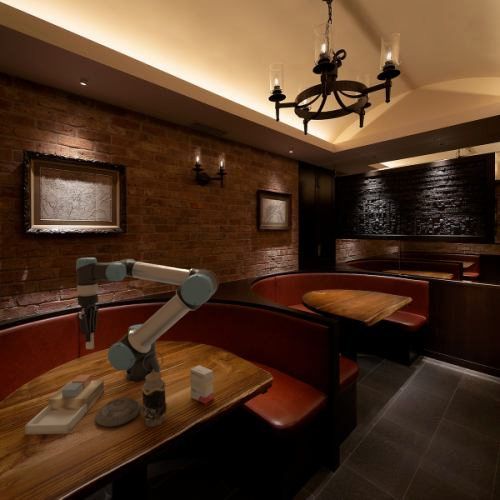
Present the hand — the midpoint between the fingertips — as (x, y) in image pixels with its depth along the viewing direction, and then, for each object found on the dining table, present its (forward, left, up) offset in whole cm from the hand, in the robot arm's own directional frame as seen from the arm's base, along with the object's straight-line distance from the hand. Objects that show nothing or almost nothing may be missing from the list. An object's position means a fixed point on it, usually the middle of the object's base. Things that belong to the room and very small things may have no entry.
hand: (90, 348), depth 122 cm
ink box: (-49, +10, -18) cm, 53 cm away
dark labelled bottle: (-34, +23, -18) cm, 45 cm away
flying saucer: (-20, +20, -18) cm, 33 cm away
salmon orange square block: (0, +8, -12) cm, 14 cm away
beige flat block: (0, +11, -17) cm, 20 cm away
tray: (0, +23, -17) cm, 29 cm away
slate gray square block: (0, +14, -12) cm, 18 cm away
